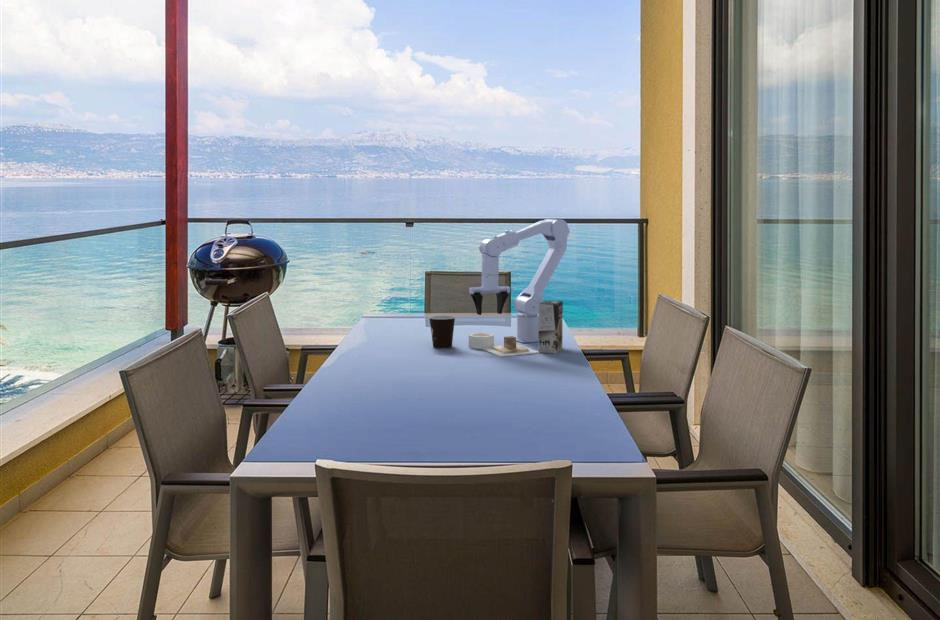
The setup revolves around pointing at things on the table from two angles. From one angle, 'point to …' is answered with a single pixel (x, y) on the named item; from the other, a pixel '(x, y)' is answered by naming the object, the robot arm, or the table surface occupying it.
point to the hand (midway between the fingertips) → (489, 314)
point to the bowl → (481, 340)
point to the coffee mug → (442, 331)
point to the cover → (510, 346)
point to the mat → (509, 353)
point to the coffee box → (550, 326)
